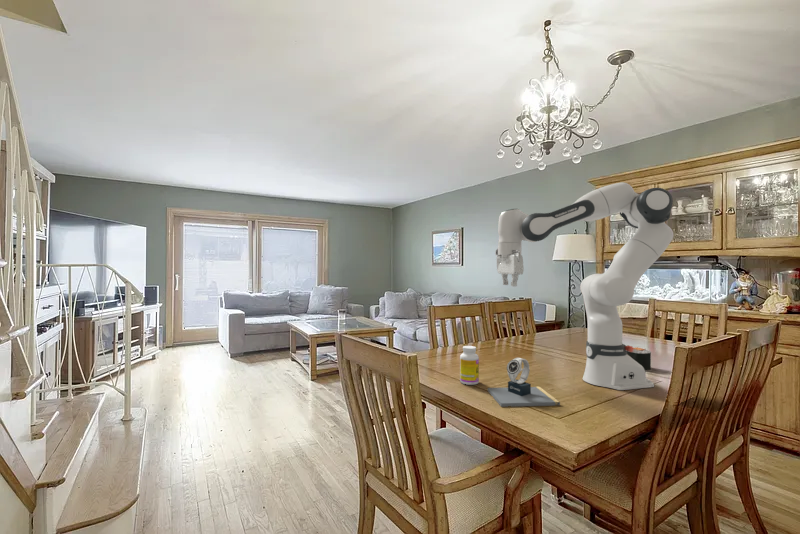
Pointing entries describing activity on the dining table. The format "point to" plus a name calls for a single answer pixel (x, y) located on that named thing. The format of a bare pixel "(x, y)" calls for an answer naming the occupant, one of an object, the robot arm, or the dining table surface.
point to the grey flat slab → (523, 397)
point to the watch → (520, 385)
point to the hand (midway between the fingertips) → (509, 285)
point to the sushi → (641, 357)
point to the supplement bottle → (469, 366)
